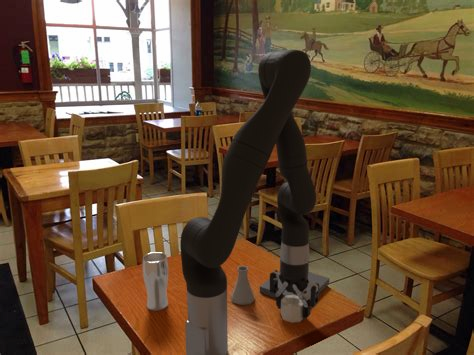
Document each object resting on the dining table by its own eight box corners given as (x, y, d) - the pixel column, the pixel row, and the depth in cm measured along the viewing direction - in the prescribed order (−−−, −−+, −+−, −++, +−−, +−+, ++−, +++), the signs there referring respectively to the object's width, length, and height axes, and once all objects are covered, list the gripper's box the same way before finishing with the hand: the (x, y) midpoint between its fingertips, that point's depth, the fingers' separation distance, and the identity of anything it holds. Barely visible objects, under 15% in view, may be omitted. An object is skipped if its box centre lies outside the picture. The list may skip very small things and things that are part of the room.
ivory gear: (297, 324, 108) (297, 309, 107) (277, 317, 112) (277, 302, 110) (307, 314, 113) (308, 299, 112) (288, 307, 116) (288, 293, 115)
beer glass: (145, 313, 114) (142, 264, 110) (144, 300, 120) (141, 253, 116) (171, 309, 115) (168, 260, 112) (168, 296, 122) (166, 250, 118)
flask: (252, 307, 116) (253, 275, 114) (228, 304, 118) (227, 272, 115) (256, 293, 123) (257, 263, 121) (233, 291, 125) (233, 261, 122)
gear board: (304, 308, 116) (304, 291, 114) (259, 292, 124) (259, 275, 123) (329, 283, 129) (330, 268, 127) (287, 270, 137) (287, 255, 136)
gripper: (263, 255, 109) (263, 310, 113) (313, 270, 101) (310, 328, 105) (278, 245, 115) (277, 298, 119) (325, 259, 107) (322, 314, 111)
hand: (292, 312), depth 112 cm, fingers open, 7 cm apart
